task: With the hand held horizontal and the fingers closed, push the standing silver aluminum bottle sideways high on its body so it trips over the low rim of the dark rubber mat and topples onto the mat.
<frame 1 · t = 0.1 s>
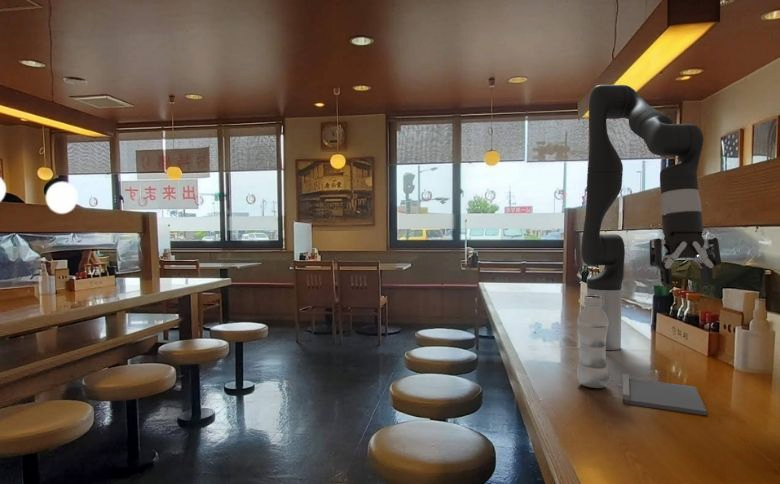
hand: (687, 286, 101), 22 cm above the counter, tool pointing down, fingers open, 8 cm apart
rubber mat: (660, 396, 96), on the counter
silver aluminum bottle: (592, 387, 103), on the counter
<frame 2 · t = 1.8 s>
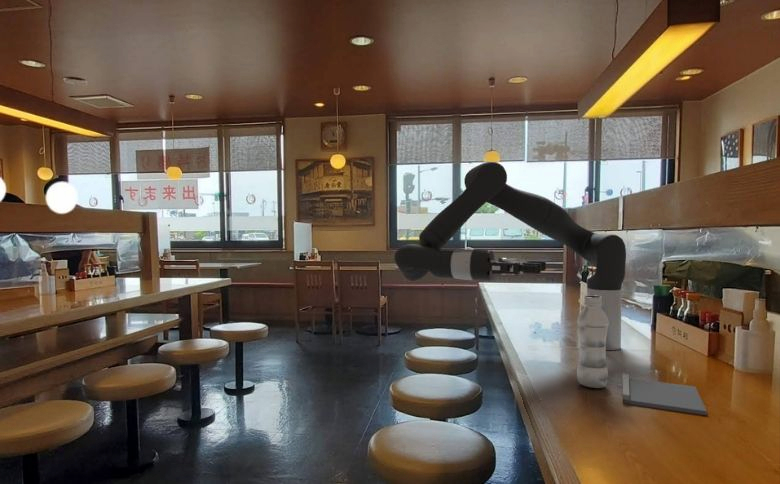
hand: (543, 267, 107), 26 cm above the counter, tool horizontal, fingers open, 6 cm apart
nothing on the counter moved.
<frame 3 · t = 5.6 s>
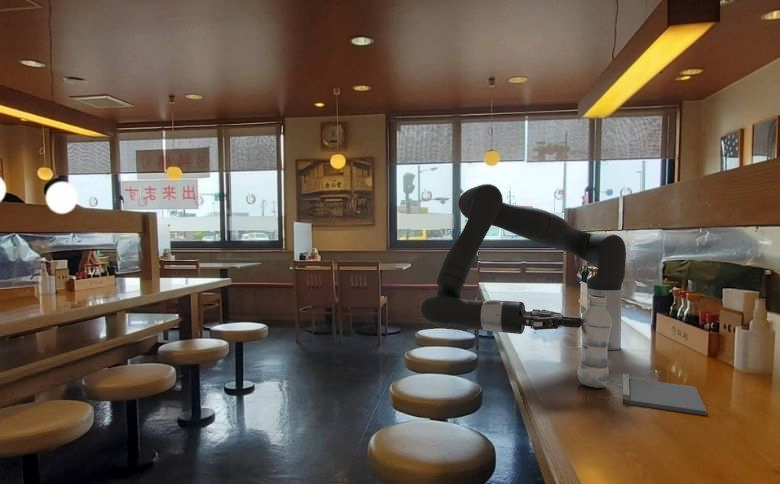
hand: (580, 322, 103), 14 cm above the counter, tool horizontal, fingers closed
nothing on the counter moved.
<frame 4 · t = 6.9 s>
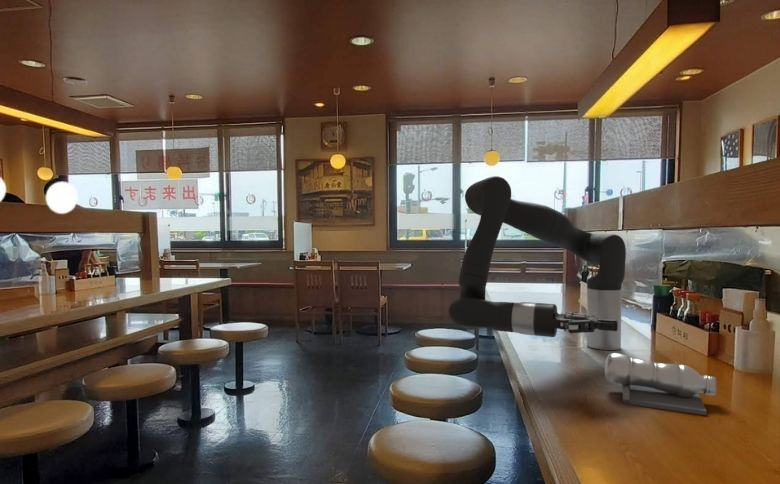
hand: (617, 325, 100), 14 cm above the counter, tool horizontal, fingers closed
silver aluminum bottle: (603, 366, 101), point 5 cm above the counter, touching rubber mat
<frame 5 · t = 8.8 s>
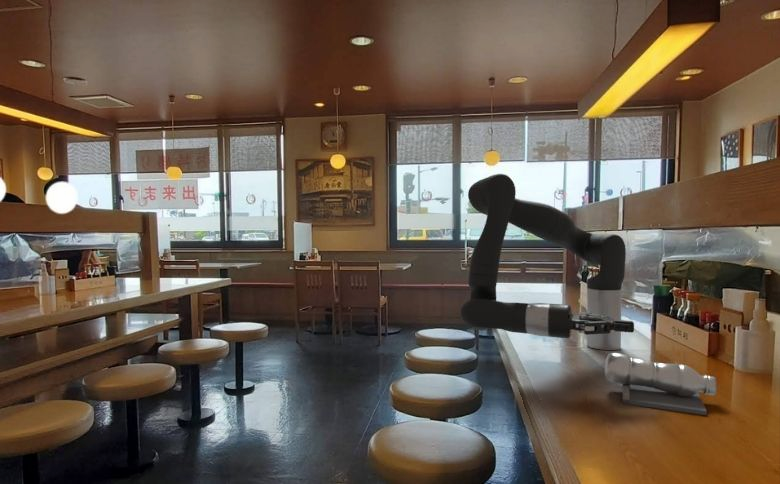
hand: (633, 326, 99), 14 cm above the counter, tool horizontal, fingers closed
nothing on the counter moved.
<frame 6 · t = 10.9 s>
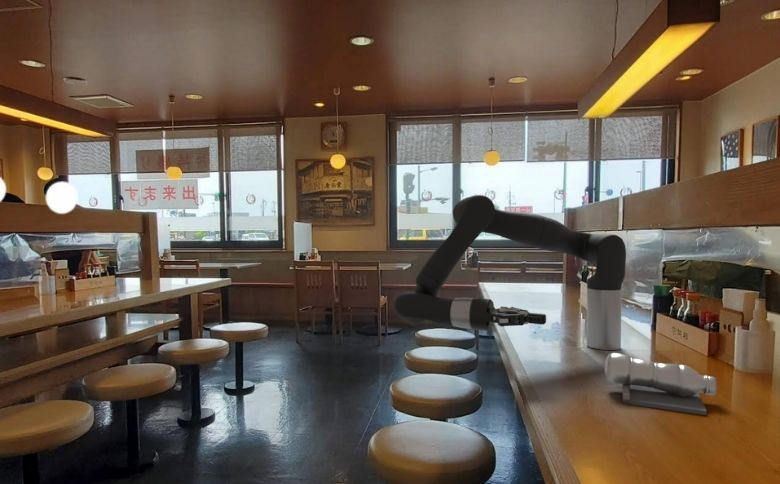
hand: (545, 319, 107), 14 cm above the counter, tool horizontal, fingers closed
nothing on the counter moved.
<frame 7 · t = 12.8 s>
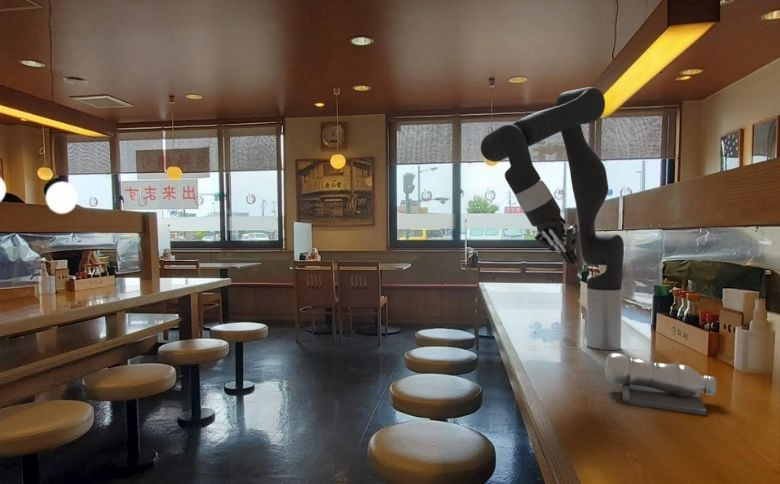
hand: (573, 262, 113), 27 cm above the counter, tool tilted 35°, fingers closed
nothing on the counter moved.
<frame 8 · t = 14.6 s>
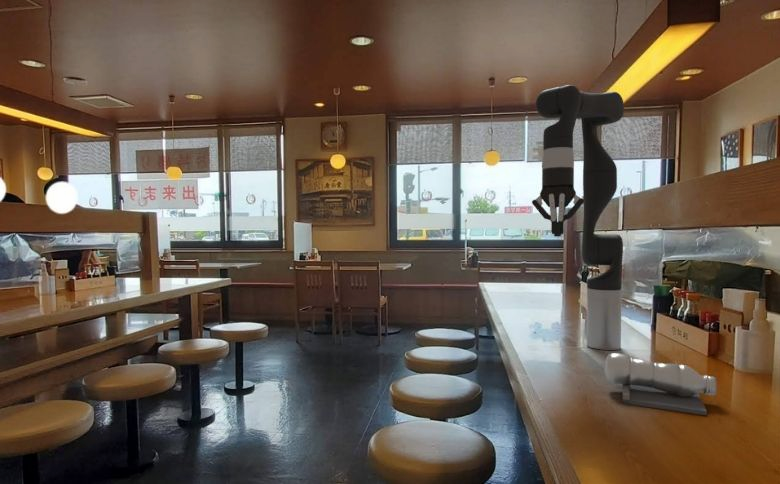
hand: (557, 236, 117), 33 cm above the counter, tool pointing down, fingers closed
nothing on the counter moved.
at the end: silver aluminum bottle tilted 95°; silver aluminum bottle inside the target area (13.8 cm from its centre), point 5.2 cm above the counter; the gripper is holding nothing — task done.
